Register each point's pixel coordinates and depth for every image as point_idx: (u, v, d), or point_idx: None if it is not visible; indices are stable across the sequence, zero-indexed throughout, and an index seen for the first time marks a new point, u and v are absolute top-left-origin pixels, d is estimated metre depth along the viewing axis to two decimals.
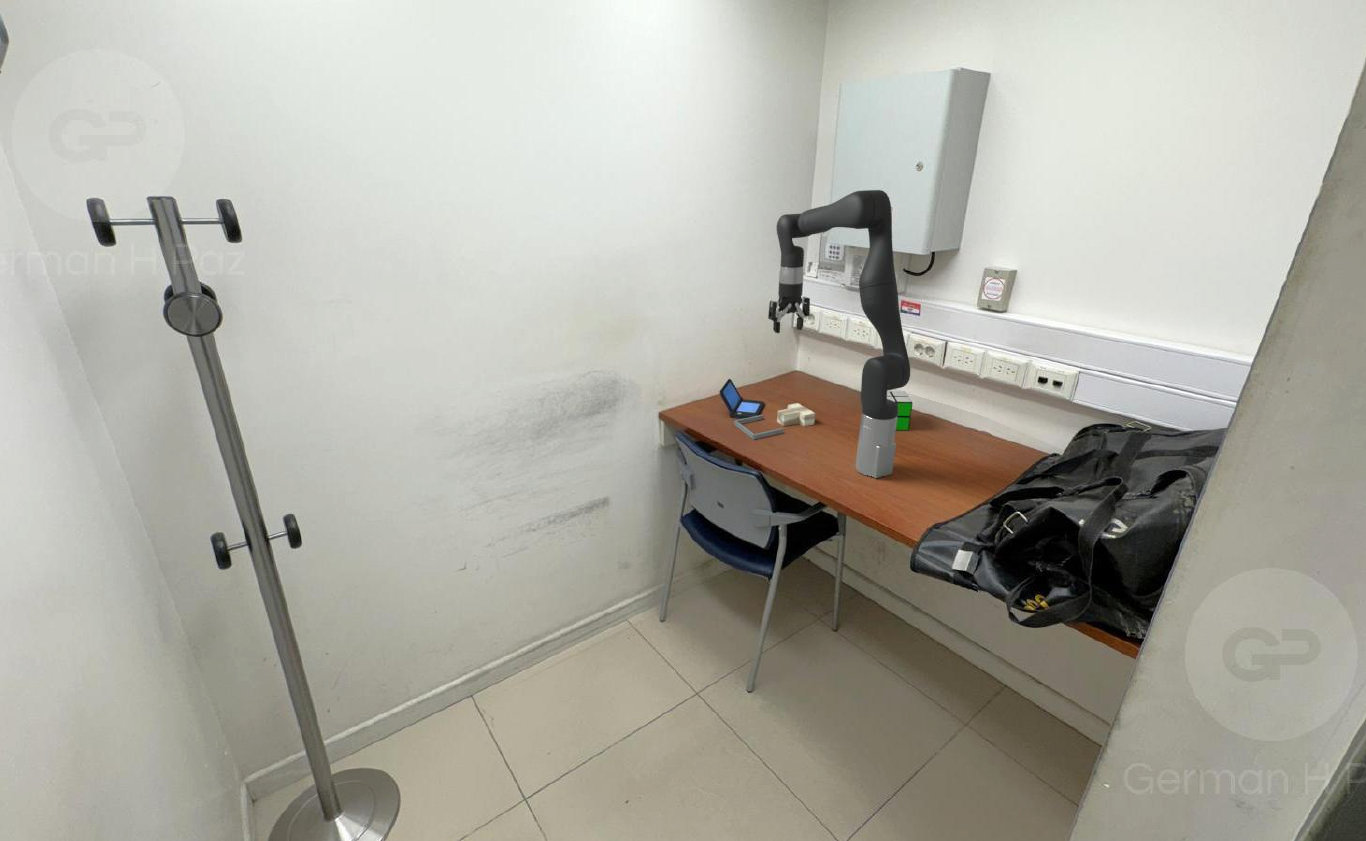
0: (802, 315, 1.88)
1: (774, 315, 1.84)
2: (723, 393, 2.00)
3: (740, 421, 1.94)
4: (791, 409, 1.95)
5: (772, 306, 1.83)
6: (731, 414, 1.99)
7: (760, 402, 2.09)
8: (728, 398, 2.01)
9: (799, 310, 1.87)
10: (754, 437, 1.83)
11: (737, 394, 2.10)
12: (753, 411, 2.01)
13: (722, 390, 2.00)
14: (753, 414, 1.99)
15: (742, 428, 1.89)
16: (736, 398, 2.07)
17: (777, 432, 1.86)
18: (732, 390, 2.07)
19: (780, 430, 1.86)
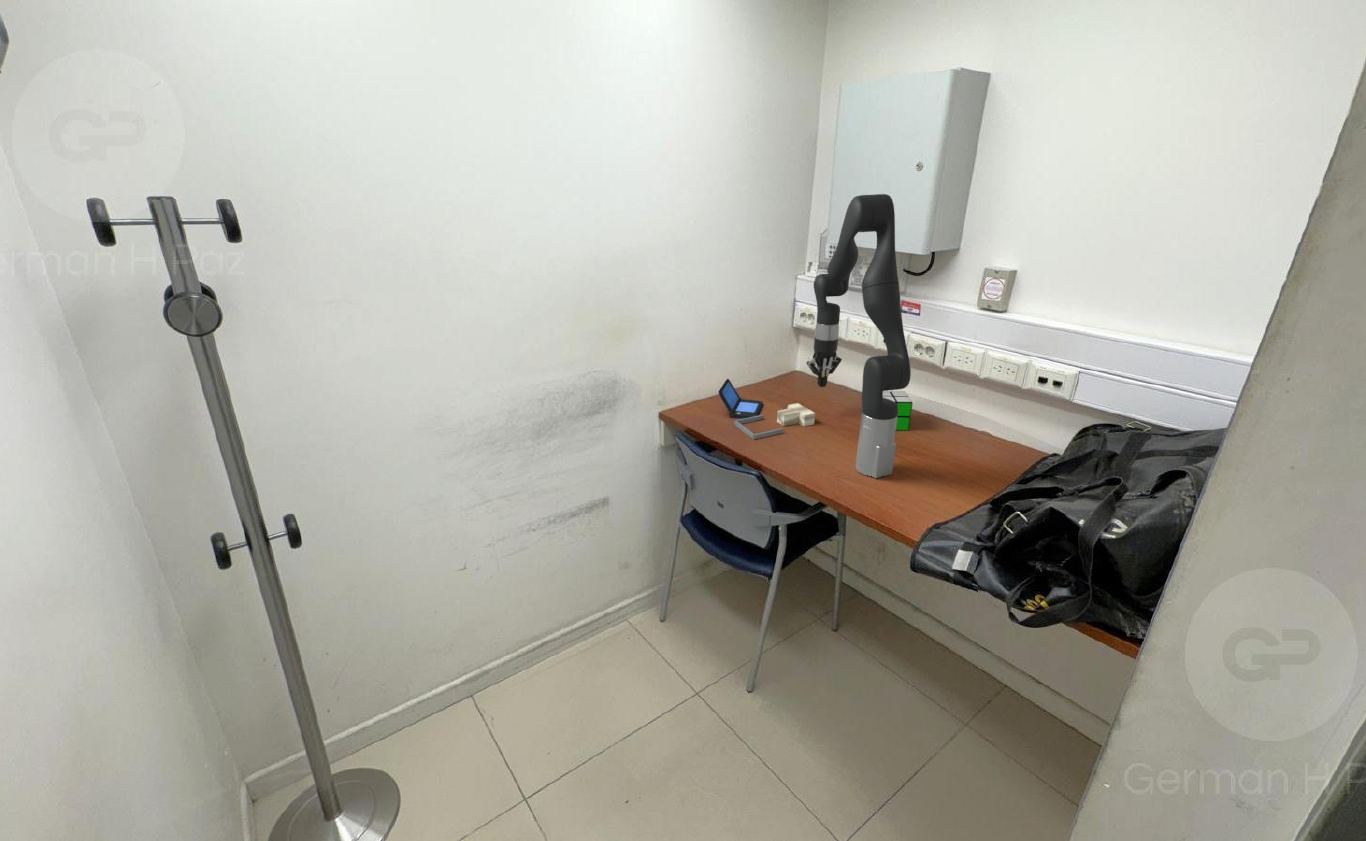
0: (826, 373, 1.93)
1: (817, 371, 1.91)
2: (722, 393, 2.00)
3: (740, 421, 1.94)
4: (791, 409, 1.95)
5: (811, 367, 1.90)
6: (730, 414, 1.99)
7: (758, 402, 2.09)
8: (727, 398, 2.01)
9: (829, 366, 1.91)
10: (754, 437, 1.83)
11: (735, 394, 2.10)
12: (752, 410, 2.01)
13: (721, 390, 2.00)
14: (753, 414, 1.99)
15: (742, 428, 1.89)
16: (735, 398, 2.08)
17: (777, 432, 1.86)
18: (731, 390, 2.07)
19: (780, 430, 1.86)
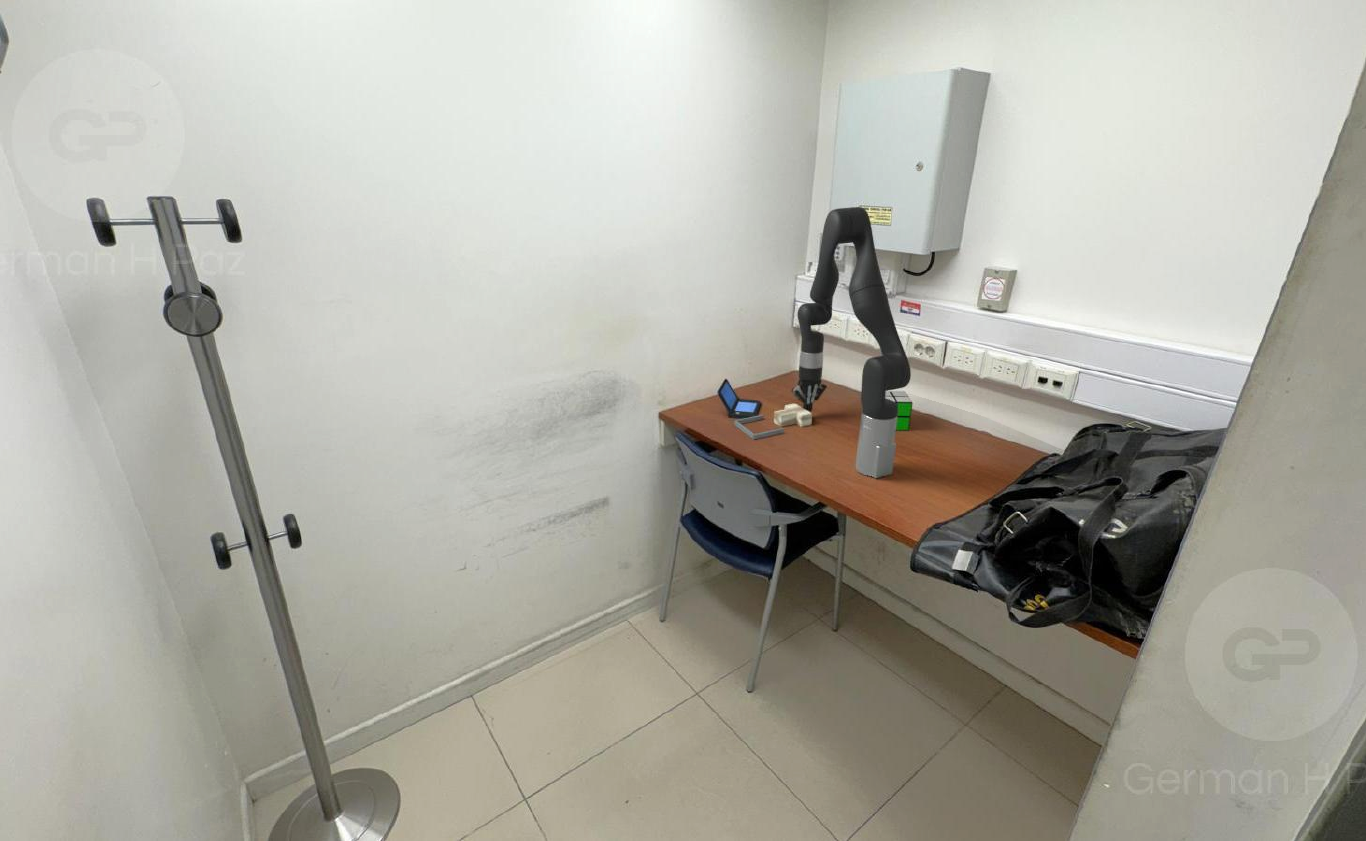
0: (811, 400, 1.94)
1: (802, 399, 1.92)
2: (721, 393, 2.00)
3: (740, 421, 1.94)
4: (788, 409, 1.94)
5: (796, 394, 1.91)
6: (729, 414, 1.99)
7: (757, 401, 2.09)
8: (726, 398, 2.01)
9: (814, 393, 1.93)
10: (754, 437, 1.83)
11: (734, 394, 2.10)
12: (751, 410, 2.01)
13: (720, 390, 2.00)
14: (752, 413, 1.99)
15: (742, 428, 1.89)
16: (733, 398, 2.08)
17: (777, 432, 1.86)
18: (729, 390, 2.07)
19: (780, 430, 1.86)
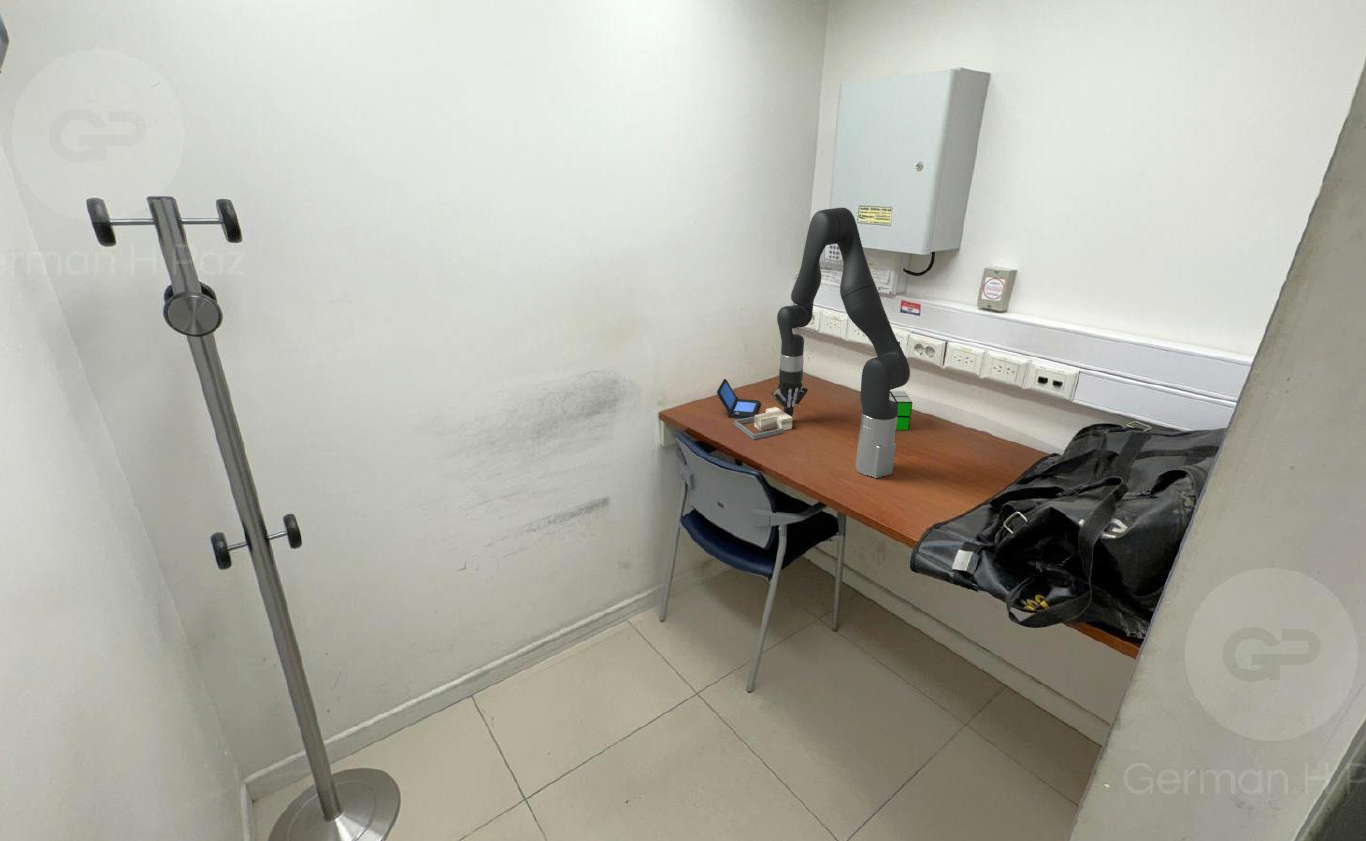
0: (792, 403, 1.91)
1: (783, 402, 1.90)
2: (721, 393, 2.00)
3: (740, 421, 1.94)
4: (768, 413, 1.92)
5: (776, 398, 1.89)
6: (729, 414, 1.99)
7: (756, 401, 2.09)
8: (725, 398, 2.01)
9: (795, 396, 1.90)
10: (754, 437, 1.83)
11: (733, 394, 2.10)
12: (750, 410, 2.02)
13: (719, 390, 2.00)
14: (751, 413, 1.99)
15: (742, 428, 1.89)
16: (732, 398, 2.08)
17: (777, 432, 1.86)
18: (728, 390, 2.07)
19: (780, 430, 1.86)
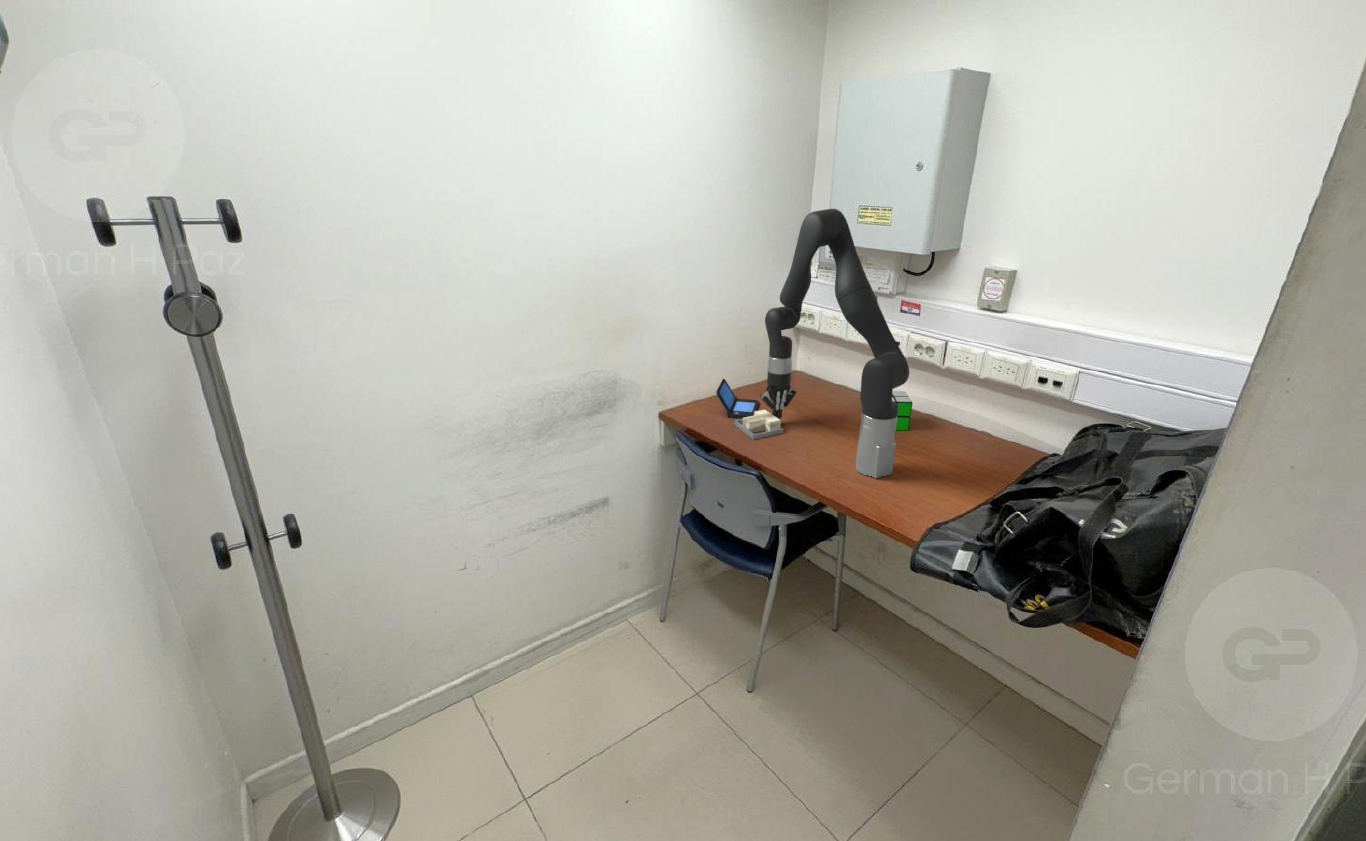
0: (780, 406, 1.90)
1: (771, 405, 1.88)
2: (720, 393, 2.00)
3: (740, 421, 1.94)
4: (757, 416, 1.90)
5: (764, 400, 1.87)
6: (728, 414, 1.99)
7: (755, 401, 2.10)
8: (724, 398, 2.01)
9: (783, 399, 1.88)
10: (754, 437, 1.83)
11: (732, 393, 2.10)
12: (749, 410, 2.02)
13: (718, 390, 1.99)
14: (750, 413, 1.99)
15: (742, 428, 1.89)
16: (731, 398, 2.08)
17: (777, 432, 1.86)
18: (727, 390, 2.07)
19: (780, 430, 1.86)
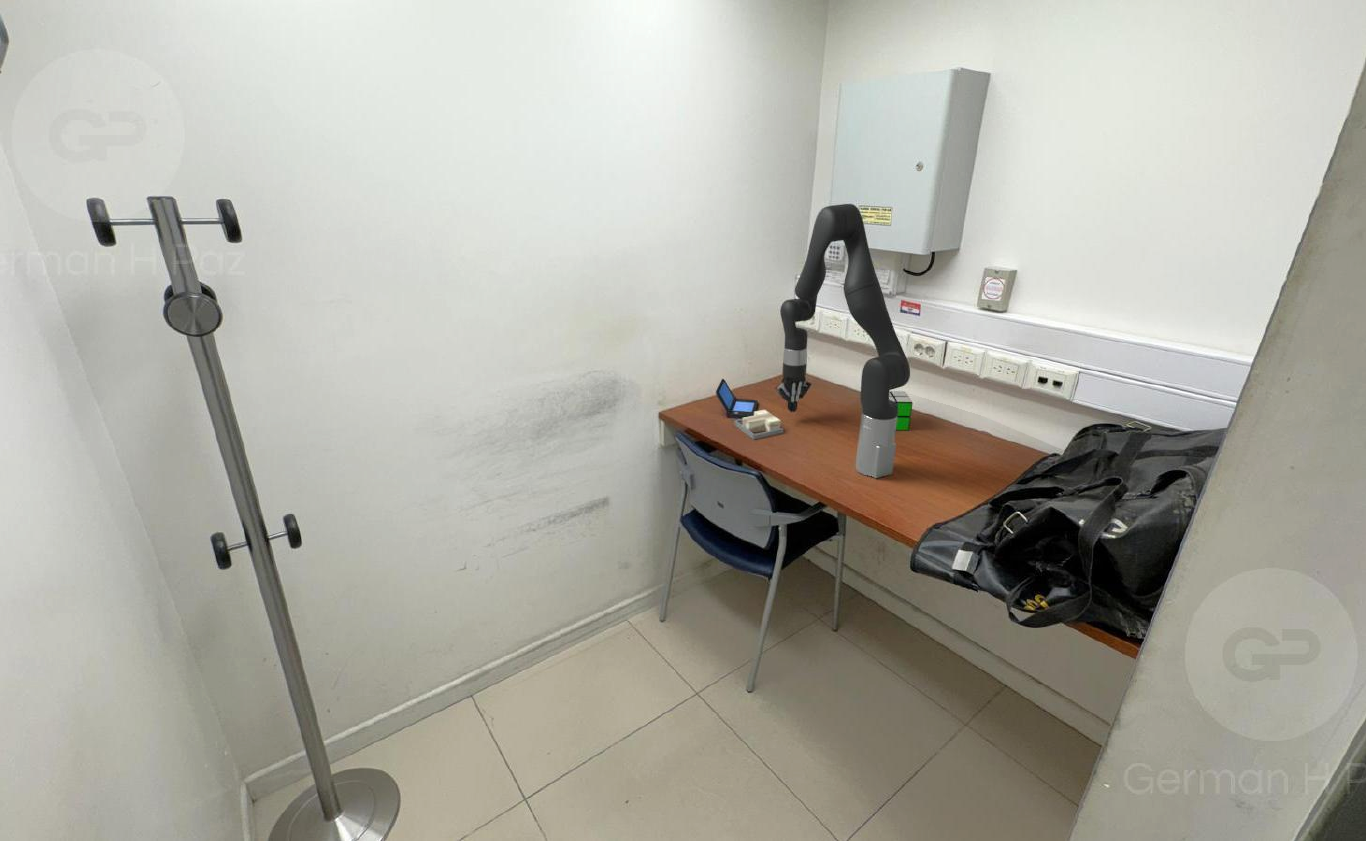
0: (796, 398, 1.91)
1: (786, 397, 1.89)
2: (719, 393, 2.00)
3: (740, 421, 1.94)
4: (757, 416, 1.90)
5: (780, 392, 1.88)
6: (728, 414, 1.99)
7: (754, 401, 2.10)
8: (724, 398, 2.01)
9: (798, 390, 1.89)
10: (754, 437, 1.83)
11: (731, 393, 2.10)
12: (749, 410, 2.02)
13: (718, 390, 1.99)
14: (750, 413, 1.99)
15: (742, 428, 1.89)
16: (730, 398, 2.08)
17: (777, 432, 1.86)
18: (726, 390, 2.07)
19: (780, 430, 1.86)
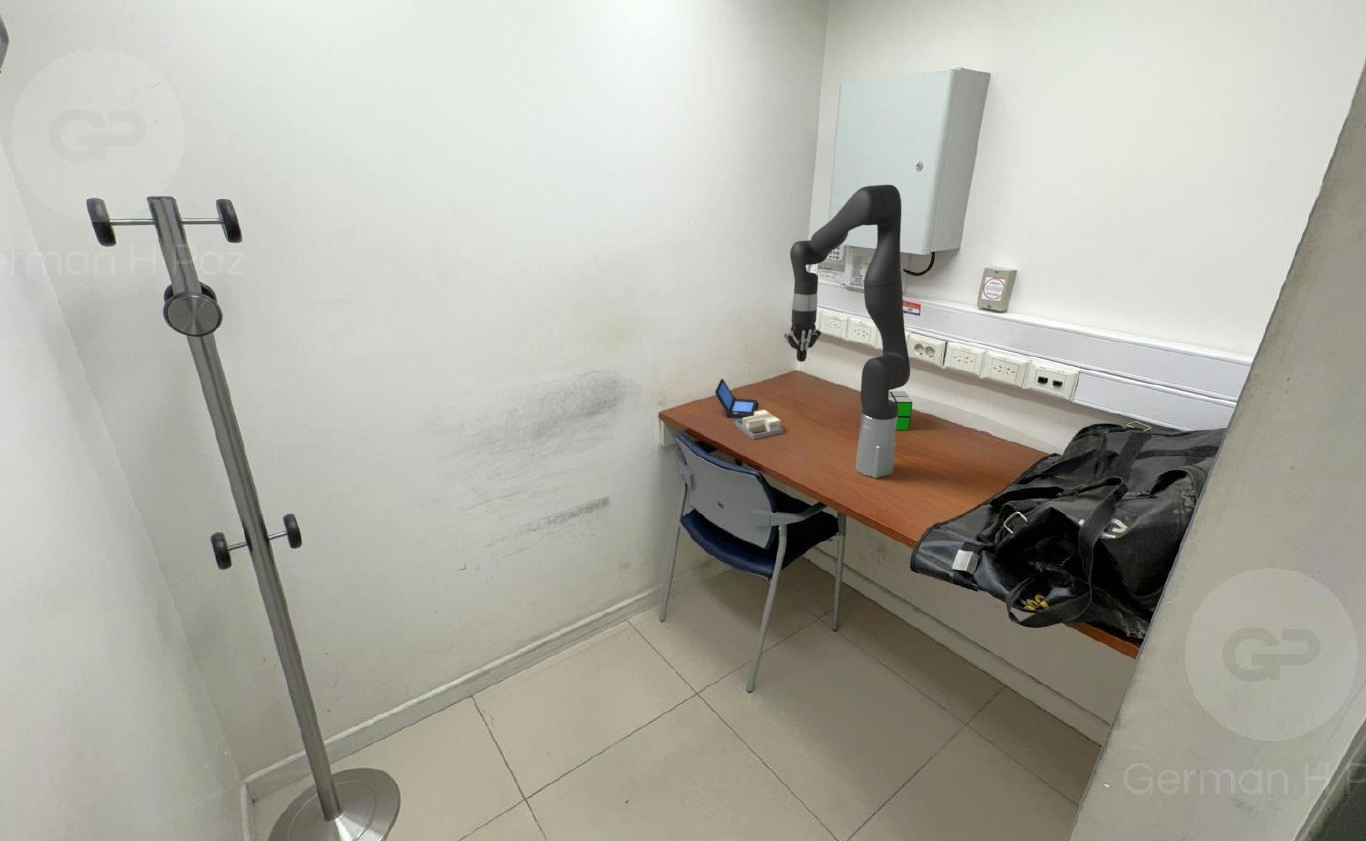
0: (805, 346, 1.84)
1: (796, 345, 1.83)
2: (719, 393, 2.00)
3: (740, 421, 1.94)
4: (757, 416, 1.90)
5: (789, 340, 1.82)
6: (727, 414, 1.99)
7: (753, 401, 2.10)
8: (723, 398, 2.01)
9: (808, 339, 1.83)
10: (754, 437, 1.83)
11: (730, 393, 2.10)
12: (748, 410, 2.02)
13: (717, 390, 1.99)
14: (749, 413, 1.99)
15: (742, 428, 1.89)
16: (730, 398, 2.08)
17: (777, 432, 1.86)
18: (725, 390, 2.07)
19: (780, 430, 1.86)
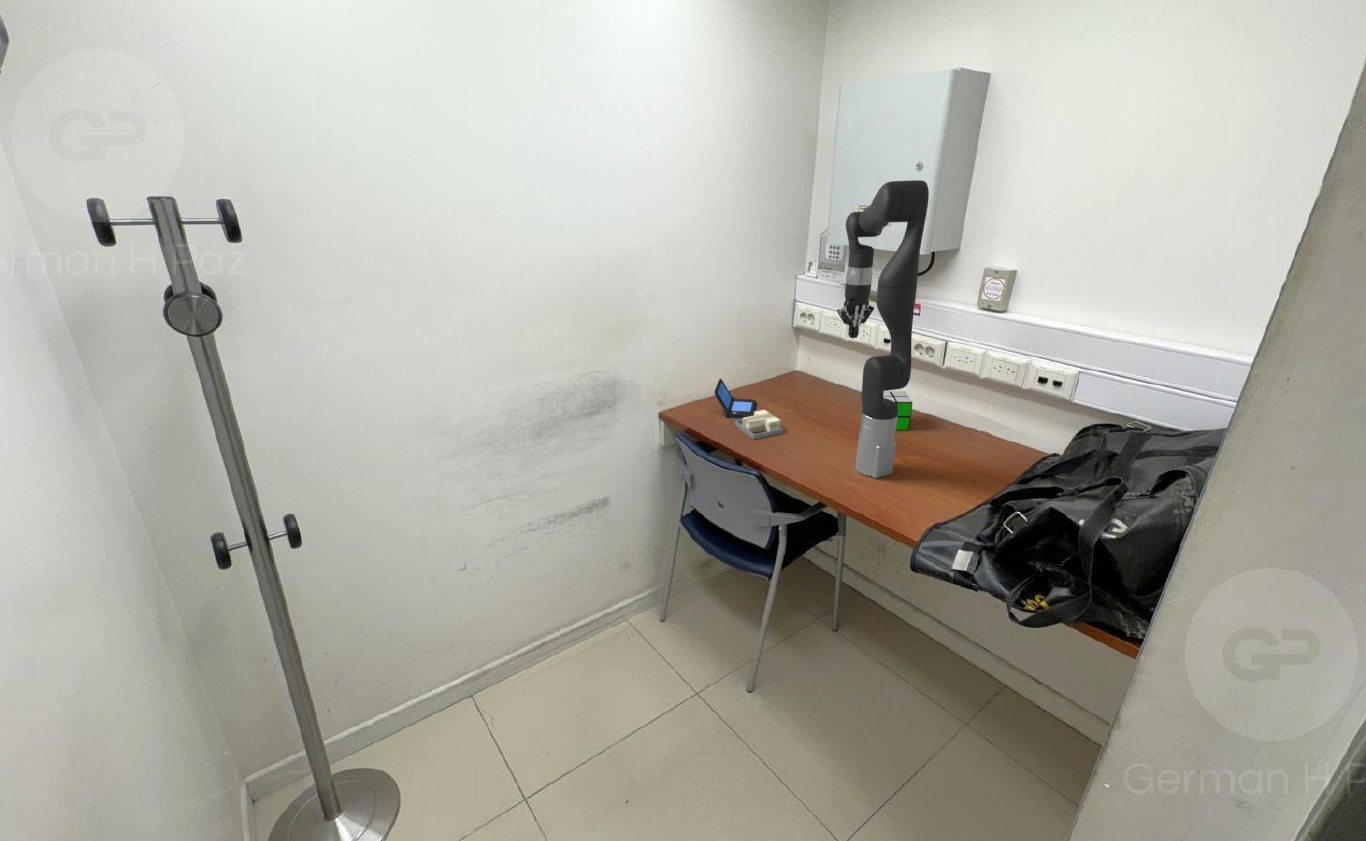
0: (858, 322, 1.80)
1: (849, 320, 1.78)
2: (718, 393, 2.00)
3: (740, 421, 1.94)
4: (757, 416, 1.90)
5: (842, 315, 1.77)
6: (727, 414, 1.99)
7: (752, 401, 2.10)
8: (722, 398, 2.01)
9: (861, 314, 1.79)
10: (754, 437, 1.83)
11: (728, 393, 2.10)
12: (747, 410, 2.02)
13: (716, 390, 1.99)
14: (749, 413, 2.00)
15: (742, 428, 1.89)
16: (728, 398, 2.08)
17: (777, 432, 1.86)
18: (724, 390, 2.08)
19: (780, 430, 1.86)
